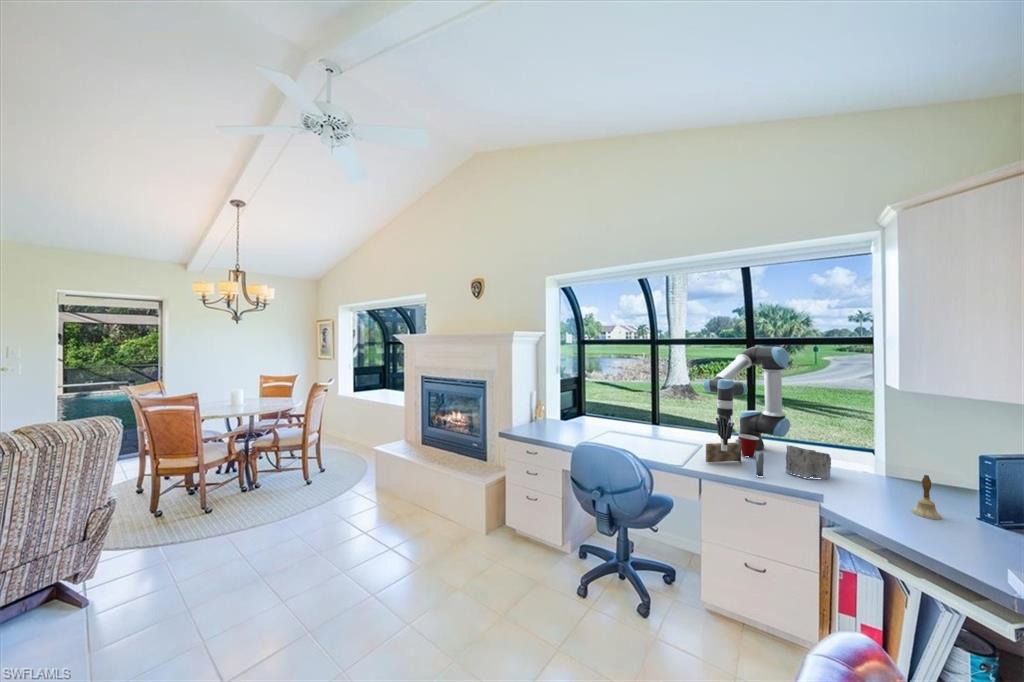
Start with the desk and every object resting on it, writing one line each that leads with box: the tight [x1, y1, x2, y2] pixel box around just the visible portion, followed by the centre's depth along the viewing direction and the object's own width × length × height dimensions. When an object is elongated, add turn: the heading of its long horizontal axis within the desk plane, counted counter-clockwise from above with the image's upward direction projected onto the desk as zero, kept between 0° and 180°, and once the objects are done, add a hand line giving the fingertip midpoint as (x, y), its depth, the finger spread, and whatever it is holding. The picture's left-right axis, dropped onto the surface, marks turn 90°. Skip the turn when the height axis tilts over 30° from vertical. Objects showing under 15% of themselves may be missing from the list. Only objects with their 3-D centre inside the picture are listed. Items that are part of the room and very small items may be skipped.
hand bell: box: [911, 474, 942, 521], centre depth 154 cm, size 8×8×16 cm
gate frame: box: [734, 438, 765, 477], centre depth 208 cm, size 27×17×12 cm, turn 172°
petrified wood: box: [785, 444, 832, 480], centre depth 198 cm, size 19×17×15 cm
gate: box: [705, 441, 739, 463], centre depth 215 cm, size 20×1×10 cm, turn 98°
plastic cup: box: [738, 433, 759, 458], centre depth 228 cm, size 11×11×12 cm
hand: (724, 450), depth 211 cm, fingers closed
